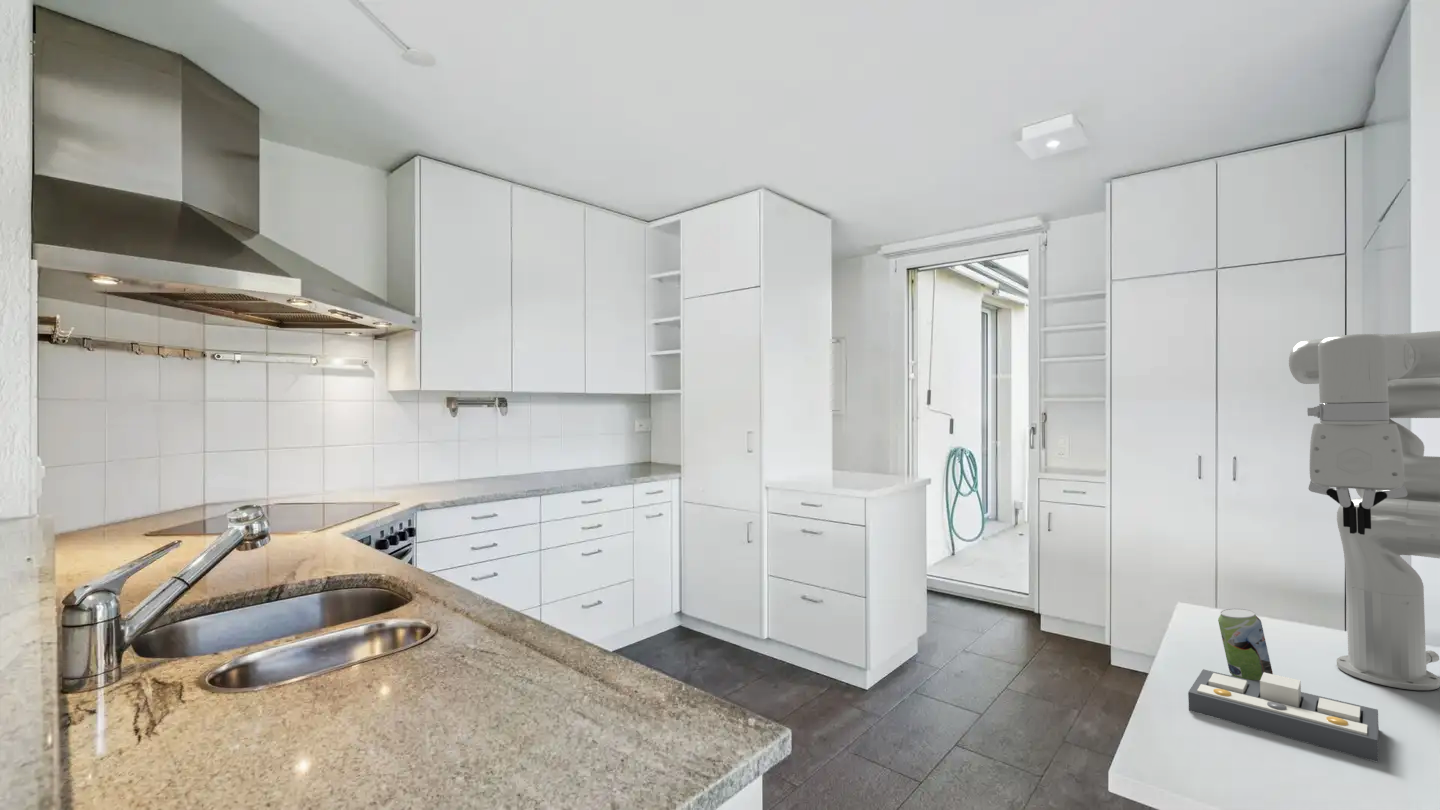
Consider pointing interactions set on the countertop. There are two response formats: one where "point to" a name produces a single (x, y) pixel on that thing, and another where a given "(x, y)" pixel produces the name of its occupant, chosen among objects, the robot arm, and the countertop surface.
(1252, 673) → the beverage can
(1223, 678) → the left key
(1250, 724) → the board
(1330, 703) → the right key
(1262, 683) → the middle key
